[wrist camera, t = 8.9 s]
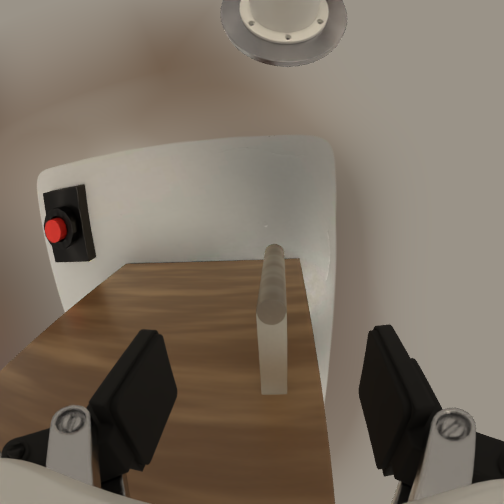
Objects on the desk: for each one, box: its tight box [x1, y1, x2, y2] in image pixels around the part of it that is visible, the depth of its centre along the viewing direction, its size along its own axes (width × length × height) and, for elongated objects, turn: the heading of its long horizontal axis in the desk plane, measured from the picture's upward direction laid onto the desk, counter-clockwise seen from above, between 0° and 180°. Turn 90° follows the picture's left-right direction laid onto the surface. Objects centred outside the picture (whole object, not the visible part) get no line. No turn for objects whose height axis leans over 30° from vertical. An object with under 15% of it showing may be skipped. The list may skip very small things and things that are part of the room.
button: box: [45, 217, 67, 243], centre depth 39 cm, size 4×4×2 cm
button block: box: [43, 185, 96, 262], centre depth 41 cm, size 12×8×4 cm, turn 4°
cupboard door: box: [0, 244, 335, 504], centre depth 24 cm, size 8×26×38 cm, turn 94°
